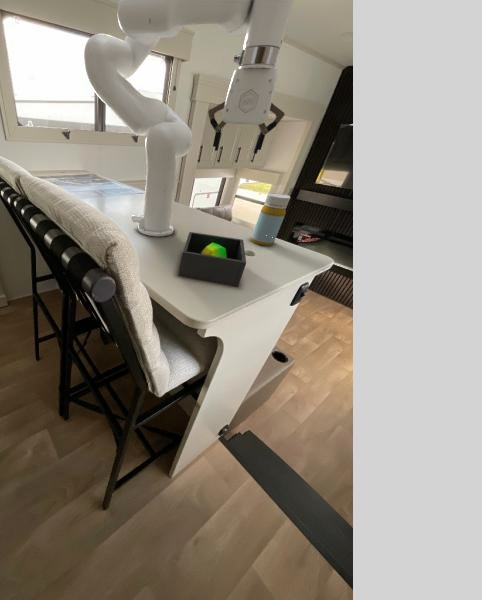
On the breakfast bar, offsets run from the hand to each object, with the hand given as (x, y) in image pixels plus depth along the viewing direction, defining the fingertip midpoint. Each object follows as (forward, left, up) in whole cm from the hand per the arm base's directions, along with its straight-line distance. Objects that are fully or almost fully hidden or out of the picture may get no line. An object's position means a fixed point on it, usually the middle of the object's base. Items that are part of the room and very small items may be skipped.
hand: (235, 151), depth 65 cm
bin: (0, -16, -26) cm, 31 cm away
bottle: (+16, +10, -26) cm, 33 cm away
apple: (0, -16, -26) cm, 30 cm away
